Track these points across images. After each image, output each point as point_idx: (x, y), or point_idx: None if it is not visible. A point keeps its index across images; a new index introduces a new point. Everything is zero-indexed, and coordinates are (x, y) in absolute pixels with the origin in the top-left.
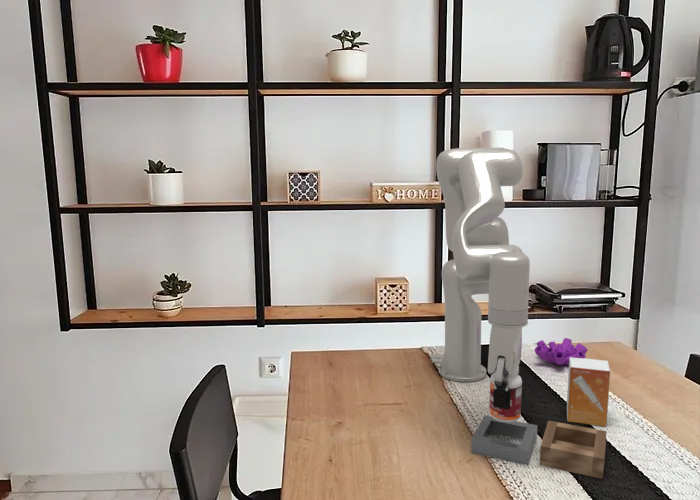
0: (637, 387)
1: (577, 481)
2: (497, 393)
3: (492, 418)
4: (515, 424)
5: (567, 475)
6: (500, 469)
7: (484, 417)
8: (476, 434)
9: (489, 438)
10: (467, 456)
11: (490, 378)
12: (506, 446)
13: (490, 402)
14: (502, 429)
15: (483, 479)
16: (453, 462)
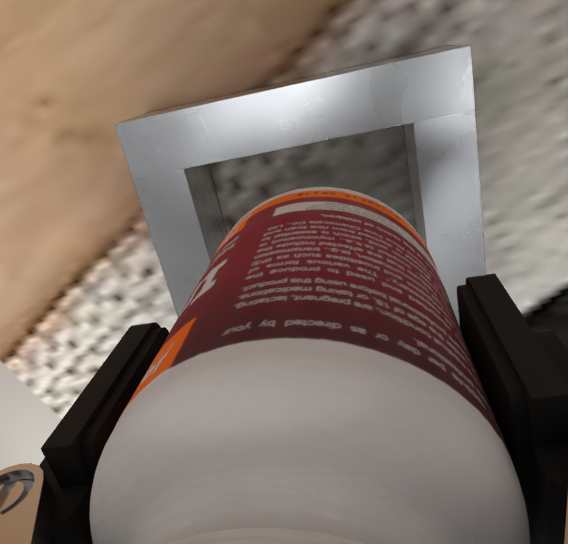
0: None
1: None
2: (44, 464)
3: (446, 119)
4: (438, 271)
5: None
6: (118, 283)
7: (434, 62)
8: (181, 126)
9: (189, 211)
10: (104, 112)
11: (199, 370)
12: (177, 311)
13: (220, 256)
14: (415, 187)
15: (5, 254)
16: (8, 78)
